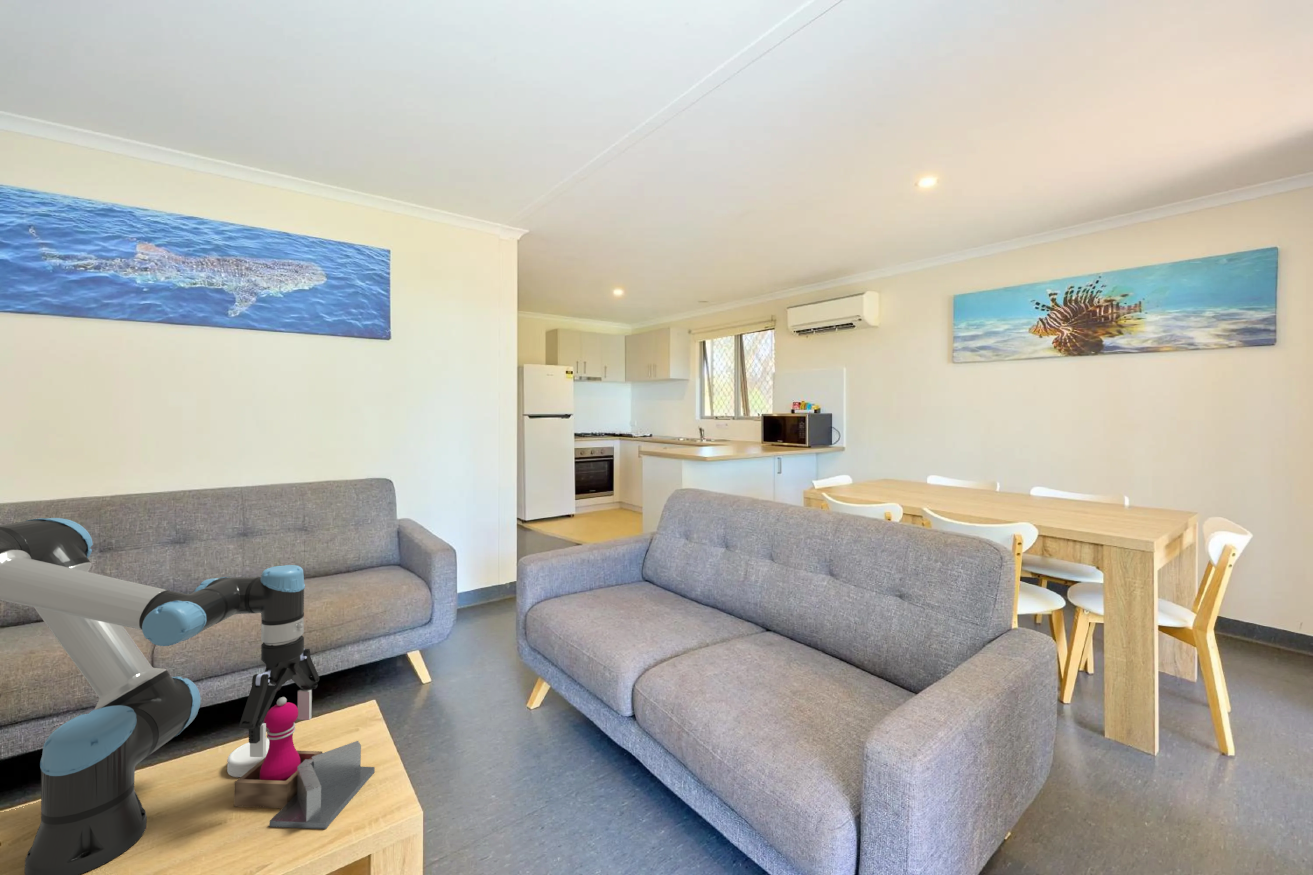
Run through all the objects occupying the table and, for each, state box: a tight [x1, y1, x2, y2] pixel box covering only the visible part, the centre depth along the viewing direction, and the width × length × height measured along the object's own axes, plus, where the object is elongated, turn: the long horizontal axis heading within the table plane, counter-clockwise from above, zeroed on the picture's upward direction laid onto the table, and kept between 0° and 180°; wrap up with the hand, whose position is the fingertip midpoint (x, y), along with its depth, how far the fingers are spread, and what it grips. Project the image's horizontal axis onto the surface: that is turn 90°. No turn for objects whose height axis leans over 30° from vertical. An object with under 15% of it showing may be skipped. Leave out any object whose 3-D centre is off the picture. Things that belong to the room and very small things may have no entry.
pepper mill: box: [260, 696, 301, 781], centre depth 112 cm, size 7×7×20 cm
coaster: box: [226, 737, 269, 778], centre depth 121 cm, size 10×10×4 cm
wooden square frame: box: [233, 749, 323, 809], centre depth 112 cm, size 11×11×5 cm
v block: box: [269, 740, 376, 830], centre depth 110 cm, size 17×11×7 cm, turn 179°
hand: (282, 736), depth 112 cm, fingers open, 13 cm apart
